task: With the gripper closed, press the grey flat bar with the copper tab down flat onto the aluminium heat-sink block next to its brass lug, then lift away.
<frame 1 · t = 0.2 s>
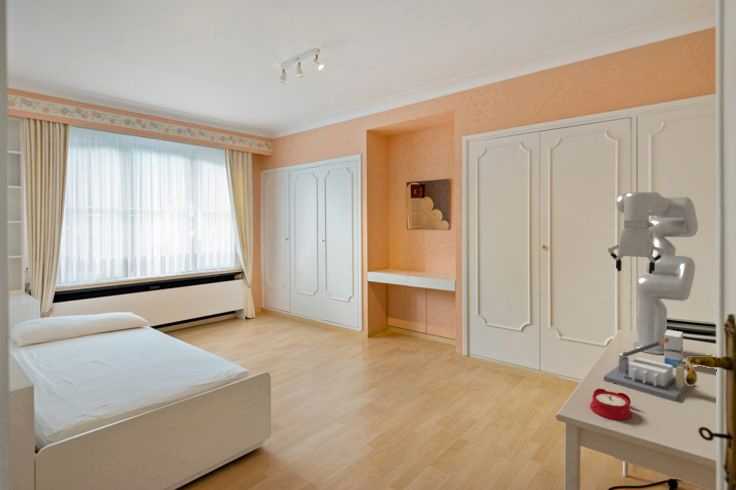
hand: (634, 271, 141), 36 cm above the table, tool pointing down, fingers open, 9 cm apart
alarm clock: (610, 409, 114), on the table
grey flat bar: (643, 348, 130), point 12 cm above the table, hinge at 35.0°
heatsink board: (646, 382, 130), on the table
ink box: (673, 363, 145), on the table
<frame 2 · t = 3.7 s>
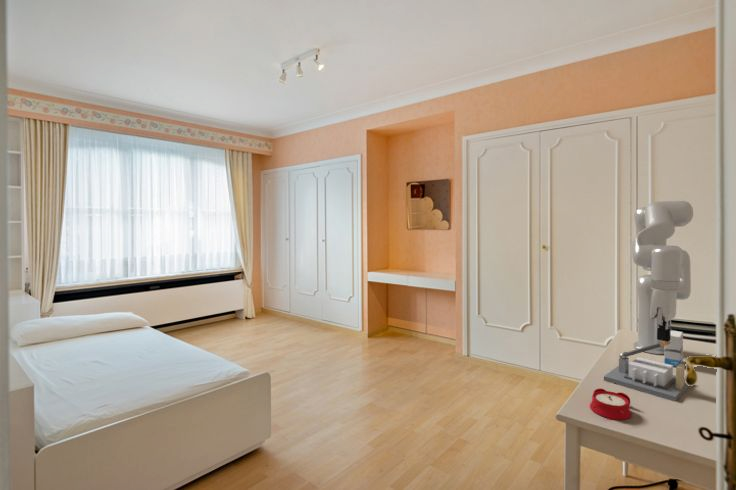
hand: (663, 340, 125), 16 cm above the table, tool pointing down, fingers closed
grey flat bar: (644, 349, 130), point 11 cm above the table, hinge at 32.3°, touching gripper
everything else where it was.
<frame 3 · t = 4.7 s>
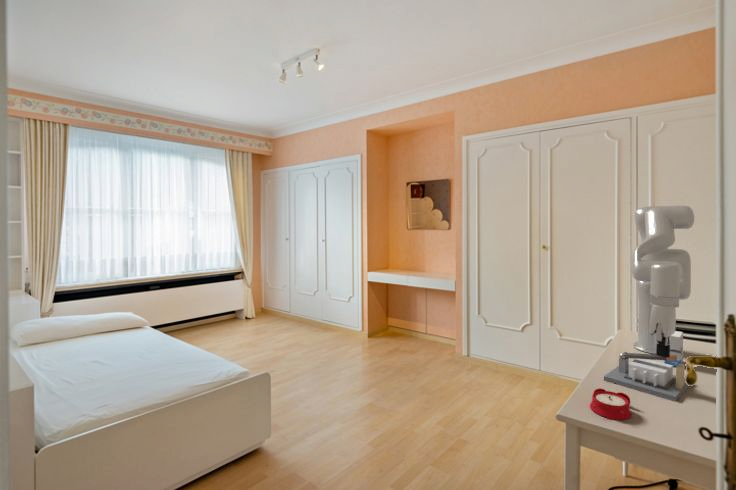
hand: (662, 355, 125), 11 cm above the table, tool pointing down, fingers closed
grey flat bar: (647, 356, 130), point 9 cm above the table, hinge at 12.2°, touching gripper
everything else where it was.
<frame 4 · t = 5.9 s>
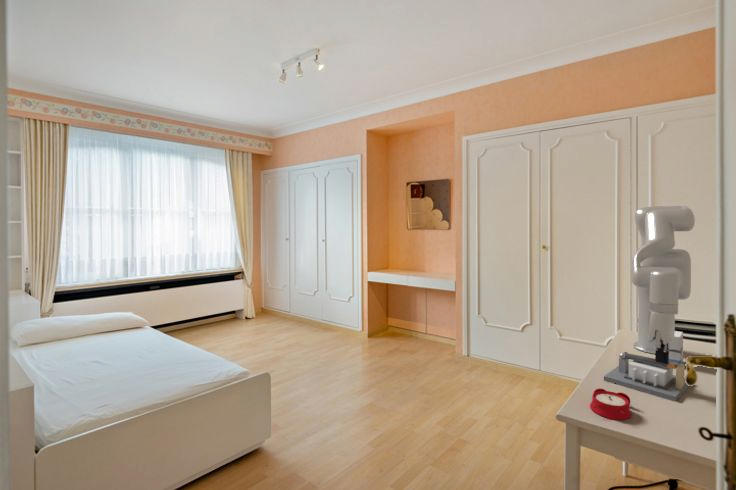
hand: (661, 362, 126), 9 cm above the table, tool pointing down, fingers closed
grey flat bar: (647, 360, 130), point 8 cm above the table, hinge at 2.6°, touching gripper
everything else where it was.
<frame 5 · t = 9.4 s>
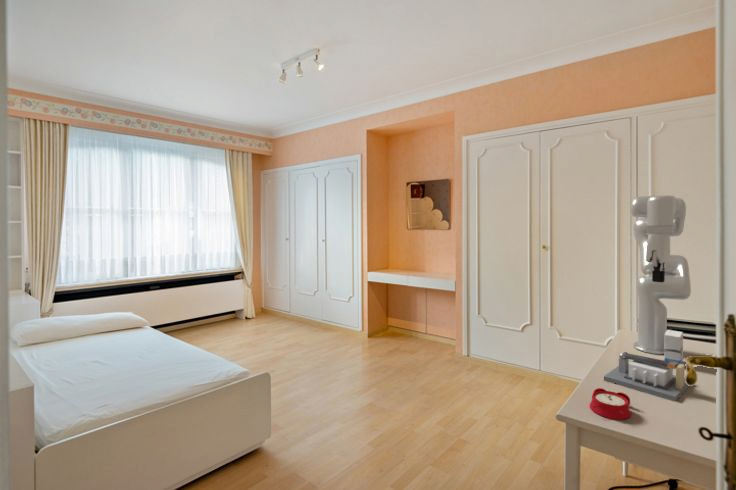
hand: (658, 281, 136), 33 cm above the table, tool pointing down, fingers closed
grey flat bar: (647, 360, 130), point 8 cm above the table, hinge at 2.5°
everything else where it was.
at the end: grey flat bar at +2° (first picture: +35°) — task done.
